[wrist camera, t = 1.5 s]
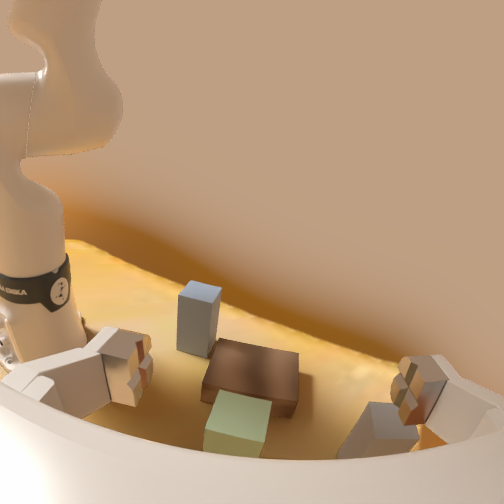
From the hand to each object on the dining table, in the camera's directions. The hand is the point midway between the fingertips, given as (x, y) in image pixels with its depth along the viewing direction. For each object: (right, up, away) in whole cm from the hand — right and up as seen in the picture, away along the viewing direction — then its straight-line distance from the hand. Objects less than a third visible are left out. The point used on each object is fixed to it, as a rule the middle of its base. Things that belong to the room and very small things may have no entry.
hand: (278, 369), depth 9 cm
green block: (-3, -20, +18) cm, 27 cm away
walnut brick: (-1, -16, +31) cm, 35 cm away
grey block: (+12, -22, +18) cm, 31 cm away
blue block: (-10, -11, +38) cm, 41 cm away
